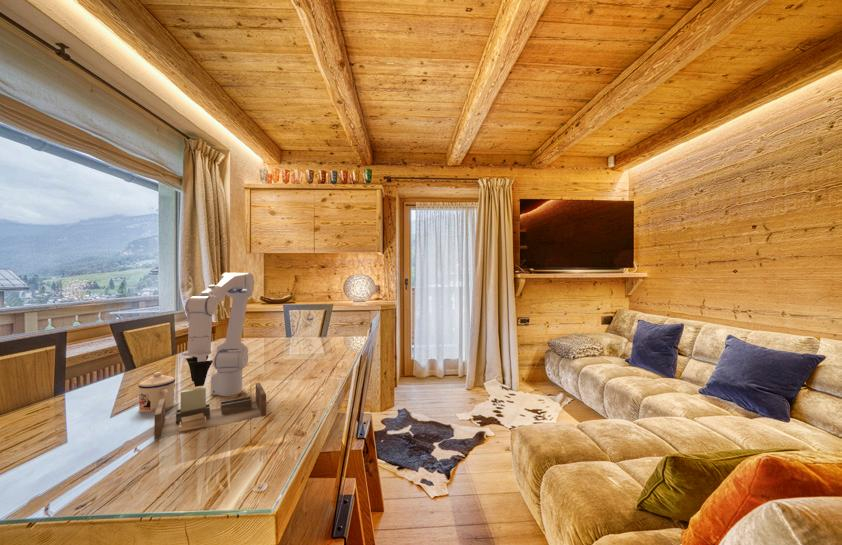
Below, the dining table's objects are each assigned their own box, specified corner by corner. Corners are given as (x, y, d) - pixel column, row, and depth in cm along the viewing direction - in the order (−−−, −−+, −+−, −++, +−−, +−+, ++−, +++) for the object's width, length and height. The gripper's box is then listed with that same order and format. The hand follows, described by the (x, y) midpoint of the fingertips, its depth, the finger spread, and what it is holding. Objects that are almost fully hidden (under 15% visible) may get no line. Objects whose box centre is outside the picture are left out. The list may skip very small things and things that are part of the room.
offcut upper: (181, 422, 90) (181, 417, 90) (202, 417, 93) (202, 412, 93) (182, 426, 88) (182, 422, 88) (204, 421, 91) (204, 416, 91)
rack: (159, 422, 95) (160, 398, 95) (259, 403, 109) (259, 382, 109) (154, 443, 83) (154, 415, 83) (266, 418, 98) (266, 394, 98)
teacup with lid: (133, 411, 103) (133, 374, 103) (167, 402, 111) (167, 367, 111) (149, 420, 96) (149, 380, 97) (184, 409, 104) (184, 372, 104)
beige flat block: (180, 418, 95) (180, 391, 95) (205, 413, 99) (205, 387, 99) (180, 420, 94) (180, 392, 94) (205, 415, 97) (205, 388, 97)
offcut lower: (179, 426, 90) (179, 421, 90) (205, 420, 94) (205, 416, 94) (179, 431, 87) (179, 427, 87) (206, 426, 90) (206, 421, 90)
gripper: (181, 335, 101) (179, 381, 99) (185, 339, 89) (182, 391, 88) (208, 333, 105) (206, 377, 104) (215, 337, 94) (213, 386, 93)
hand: (197, 383), depth 96 cm, fingers open, 7 cm apart
